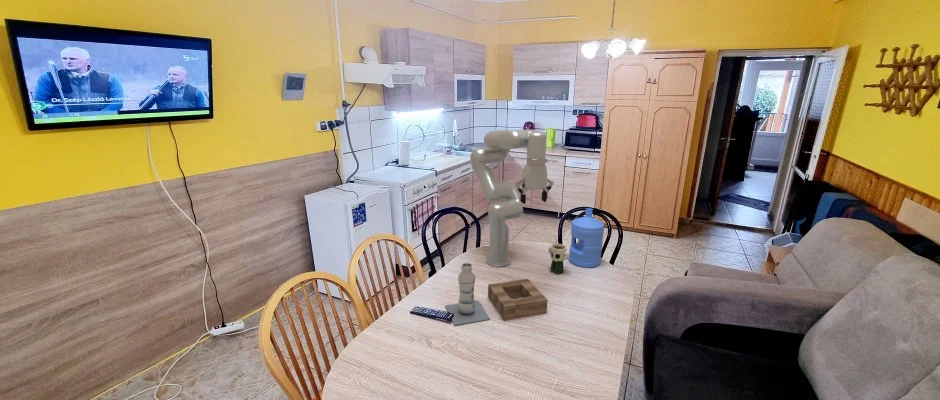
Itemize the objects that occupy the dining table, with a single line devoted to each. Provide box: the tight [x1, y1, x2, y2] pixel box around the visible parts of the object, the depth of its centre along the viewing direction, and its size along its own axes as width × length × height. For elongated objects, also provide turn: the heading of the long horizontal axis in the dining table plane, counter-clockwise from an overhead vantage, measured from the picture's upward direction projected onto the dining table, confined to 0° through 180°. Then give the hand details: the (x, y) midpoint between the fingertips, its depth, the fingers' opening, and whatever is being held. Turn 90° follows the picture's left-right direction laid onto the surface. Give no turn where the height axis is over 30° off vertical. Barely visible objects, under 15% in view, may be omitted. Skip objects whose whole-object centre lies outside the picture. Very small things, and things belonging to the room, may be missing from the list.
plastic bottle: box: [457, 262, 476, 314], centre depth 153 cm, size 6×7×20 cm
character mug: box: [548, 243, 569, 274], centre depth 190 cm, size 11×7×13 cm, turn 44°
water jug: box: [568, 207, 605, 269], centre depth 199 cm, size 16×16×28 cm
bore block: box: [487, 278, 548, 322], centre depth 162 cm, size 18×18×6 cm
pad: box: [445, 299, 491, 327], centre depth 156 cm, size 14×14×1 cm
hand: (533, 202), depth 169 cm, fingers open, 9 cm apart
